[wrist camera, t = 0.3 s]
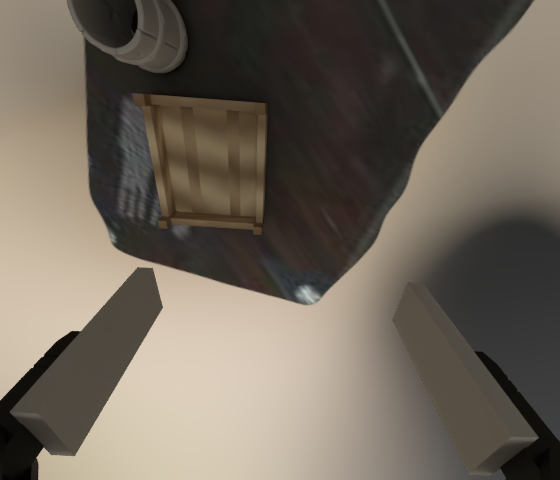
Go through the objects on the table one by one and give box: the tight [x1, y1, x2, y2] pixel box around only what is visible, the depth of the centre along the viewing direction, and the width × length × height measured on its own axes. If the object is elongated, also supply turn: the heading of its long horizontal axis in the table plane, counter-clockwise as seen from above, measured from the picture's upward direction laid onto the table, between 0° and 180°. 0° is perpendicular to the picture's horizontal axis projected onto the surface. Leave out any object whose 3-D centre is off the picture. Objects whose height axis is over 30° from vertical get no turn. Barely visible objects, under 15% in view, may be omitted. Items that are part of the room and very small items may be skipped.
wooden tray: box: [132, 93, 268, 235], centre depth 34 cm, size 17×15×5 cm
